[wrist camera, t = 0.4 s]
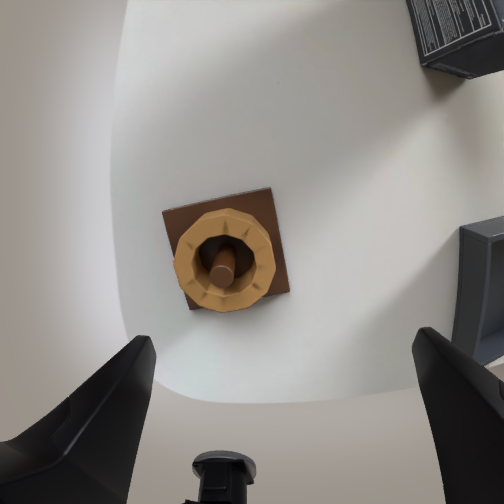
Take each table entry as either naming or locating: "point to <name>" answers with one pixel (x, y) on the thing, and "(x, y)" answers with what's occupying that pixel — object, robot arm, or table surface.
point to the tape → (197, 277)
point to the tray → (481, 291)
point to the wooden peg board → (230, 239)
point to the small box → (459, 35)
